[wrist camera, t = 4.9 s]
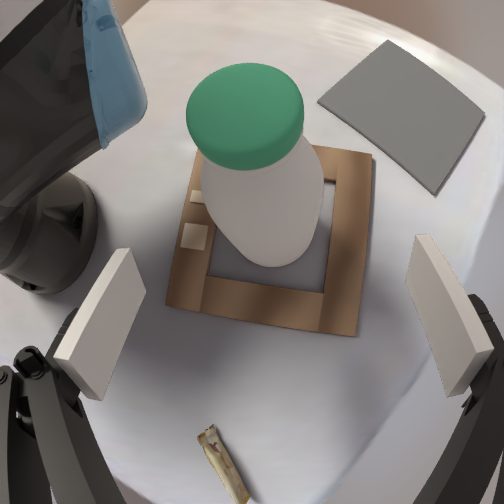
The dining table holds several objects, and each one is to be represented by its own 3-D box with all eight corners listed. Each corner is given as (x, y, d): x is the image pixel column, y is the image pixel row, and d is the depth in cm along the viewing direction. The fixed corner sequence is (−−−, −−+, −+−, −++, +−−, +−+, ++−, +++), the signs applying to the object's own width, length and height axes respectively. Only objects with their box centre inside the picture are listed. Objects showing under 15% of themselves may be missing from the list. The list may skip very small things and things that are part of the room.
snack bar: (252, 494, 26) (248, 509, 23) (239, 497, 26) (234, 512, 23) (214, 422, 28) (206, 433, 25) (201, 426, 28) (192, 437, 25)
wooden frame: (167, 305, 30) (164, 305, 30) (202, 138, 33) (200, 134, 32) (353, 336, 28) (355, 336, 27) (370, 156, 31) (372, 153, 30)
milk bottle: (330, 223, 30) (384, 94, 10) (277, 285, 30) (250, 244, 10) (268, 175, 31) (237, 17, 12) (216, 232, 31) (111, 126, 12)
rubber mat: (317, 102, 32) (317, 100, 32) (387, 41, 33) (387, 39, 33) (432, 194, 29) (434, 193, 29) (483, 114, 30) (485, 112, 29)
